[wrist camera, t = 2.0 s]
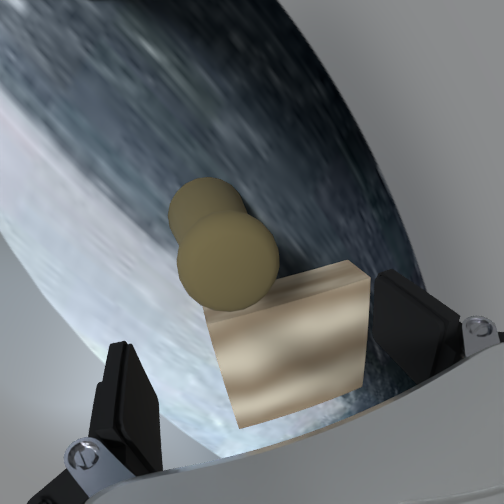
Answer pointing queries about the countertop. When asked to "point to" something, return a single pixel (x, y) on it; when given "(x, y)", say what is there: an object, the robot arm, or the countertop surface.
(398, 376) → the countertop surface
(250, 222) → the olive tall waisted piece
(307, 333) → the birch plinth
